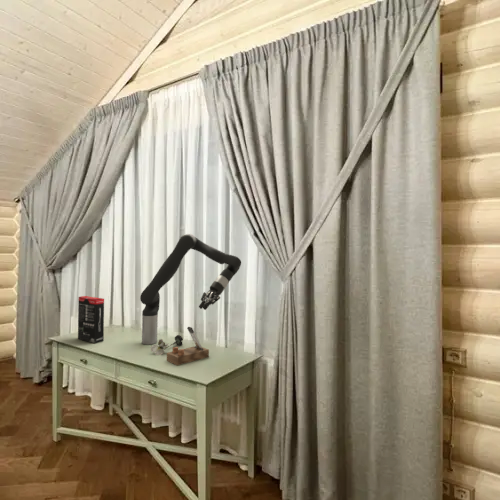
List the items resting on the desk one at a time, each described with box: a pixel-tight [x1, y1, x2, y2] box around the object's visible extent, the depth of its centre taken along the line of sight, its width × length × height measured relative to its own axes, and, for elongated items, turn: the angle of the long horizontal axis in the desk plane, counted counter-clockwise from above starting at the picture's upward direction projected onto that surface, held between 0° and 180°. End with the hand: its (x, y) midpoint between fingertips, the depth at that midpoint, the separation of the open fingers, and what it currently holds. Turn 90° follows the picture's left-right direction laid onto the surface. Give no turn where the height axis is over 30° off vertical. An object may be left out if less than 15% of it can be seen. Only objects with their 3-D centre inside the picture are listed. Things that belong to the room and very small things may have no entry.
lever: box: [187, 326, 203, 349], centre depth 182 cm, size 14×3×1 cm
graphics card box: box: [77, 295, 105, 344], centre depth 210 cm, size 17×7×27 cm, turn 63°
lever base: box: [166, 345, 210, 366], centre depth 179 cm, size 20×10×7 cm, turn 135°
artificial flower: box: [150, 334, 184, 356], centre depth 194 cm, size 9×22×10 cm, turn 149°
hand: (202, 308), depth 185 cm, fingers open, 3 cm apart
